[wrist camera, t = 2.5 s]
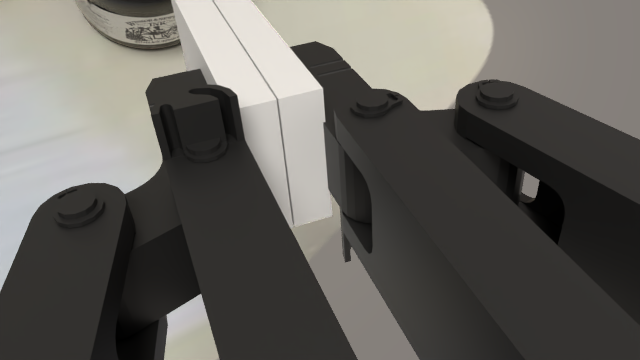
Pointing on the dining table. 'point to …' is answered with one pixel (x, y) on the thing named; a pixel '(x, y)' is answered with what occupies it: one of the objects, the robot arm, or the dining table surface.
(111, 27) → the ink bottle
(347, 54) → the dining table surface
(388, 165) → the robot arm
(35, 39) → the dining table surface
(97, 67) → the dining table surface
